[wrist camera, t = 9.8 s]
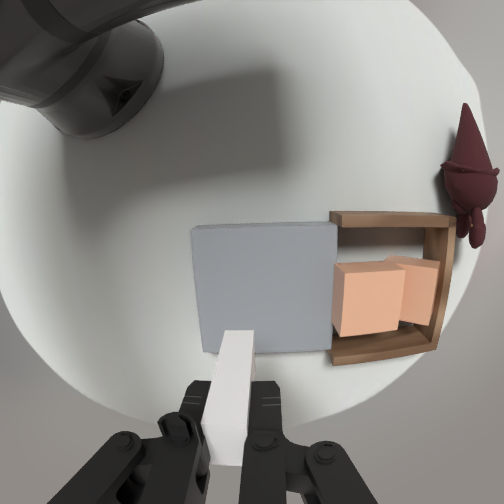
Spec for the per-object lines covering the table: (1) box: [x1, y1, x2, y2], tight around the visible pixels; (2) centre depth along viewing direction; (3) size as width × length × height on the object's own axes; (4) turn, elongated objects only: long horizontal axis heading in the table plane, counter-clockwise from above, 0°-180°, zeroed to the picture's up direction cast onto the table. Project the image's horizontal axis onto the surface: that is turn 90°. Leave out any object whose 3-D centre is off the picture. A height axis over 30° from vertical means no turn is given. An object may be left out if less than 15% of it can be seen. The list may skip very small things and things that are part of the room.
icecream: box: [440, 103, 500, 249], centre depth 21 cm, size 7×7×15 cm
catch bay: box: [327, 211, 456, 366], centre depth 24 cm, size 14×12×4 cm
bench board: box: [190, 222, 337, 353], centre depth 26 cm, size 12×12×3 cm
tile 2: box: [384, 255, 440, 326], centre depth 24 cm, size 6×6×3 cm
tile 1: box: [331, 261, 406, 337], centre depth 22 cm, size 6×6×3 cm
